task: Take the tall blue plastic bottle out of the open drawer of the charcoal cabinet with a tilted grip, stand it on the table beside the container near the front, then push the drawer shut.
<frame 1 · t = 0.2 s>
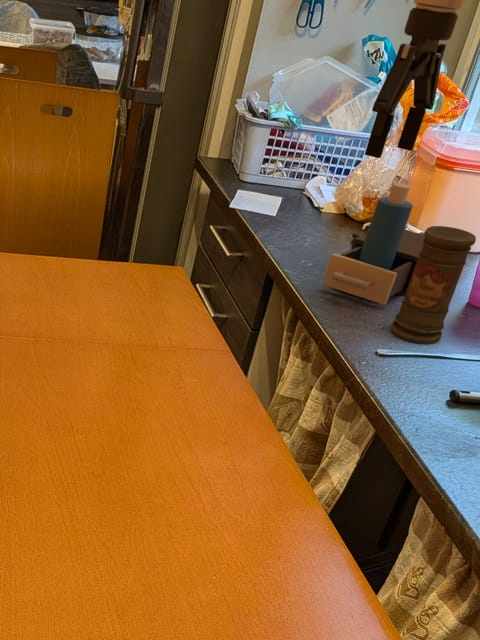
hand: (388, 152, 164), 27 cm above the table, tool pointing down, fingers open, 13 cm apart
bottle: (368, 281, 186), point 2 cm above the table, touching drawer
container: (414, 335, 171), on the table
cabinet: (389, 278, 195), on the table
drawer: (369, 273, 184), point 4 cm above the table, slide at 10.0 cm, touching bottle
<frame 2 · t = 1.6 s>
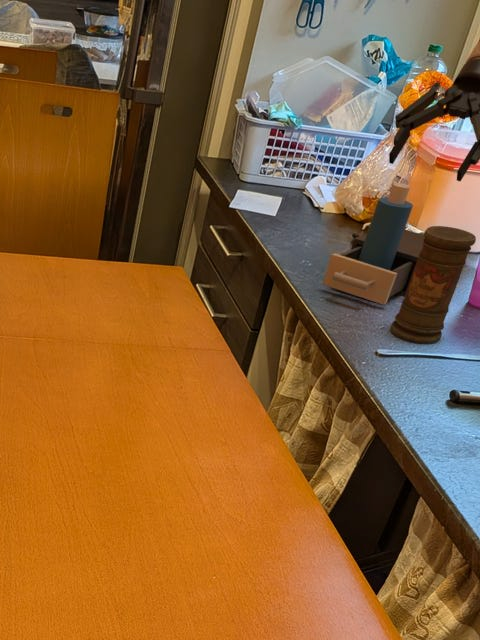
hand: (424, 167, 179), 22 cm above the table, tool tilted 45°, fingers open, 13 cm apart
nothing on the table moved.
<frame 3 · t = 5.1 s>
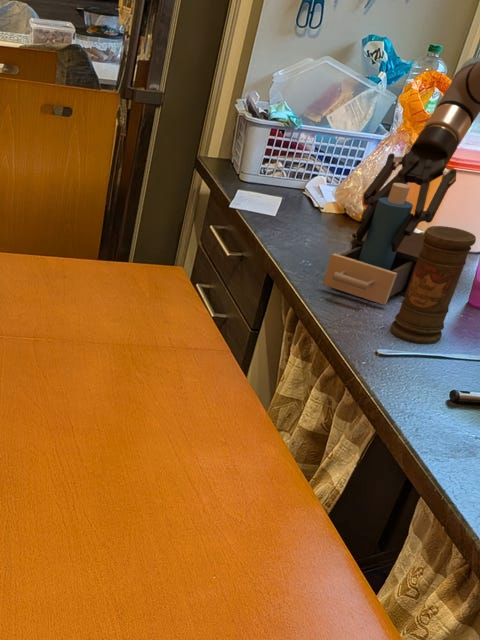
hand: (375, 242, 178), 10 cm above the table, tool tilted 45°, fingers closed on bottle, 6 cm apart
bottle: (368, 281, 186), point 2 cm above the table, touching drawer, gripper
everything else where it was.
when the fingers open (8 cm above the table, at t = 19.4 s): bottle stays where it is, on the table.
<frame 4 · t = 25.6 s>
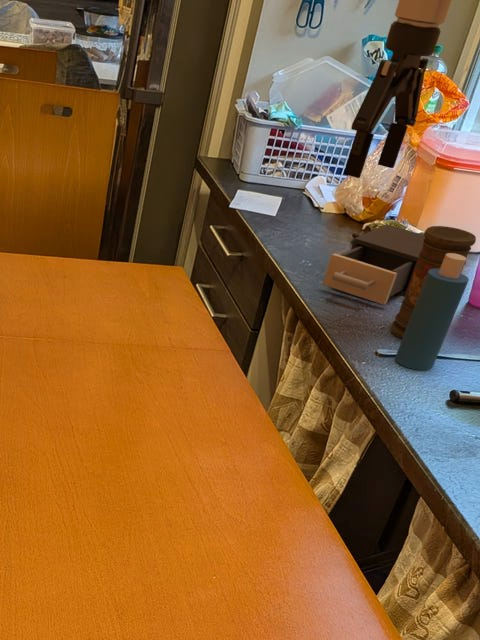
hand: (368, 171, 158), 25 cm above the table, tool pointing down, fingers open, 13 cm apart
bottle: (413, 362, 161), on the table
drawer: (369, 273, 184), point 4 cm above the table, slide at 10.0 cm
everything else where it was.
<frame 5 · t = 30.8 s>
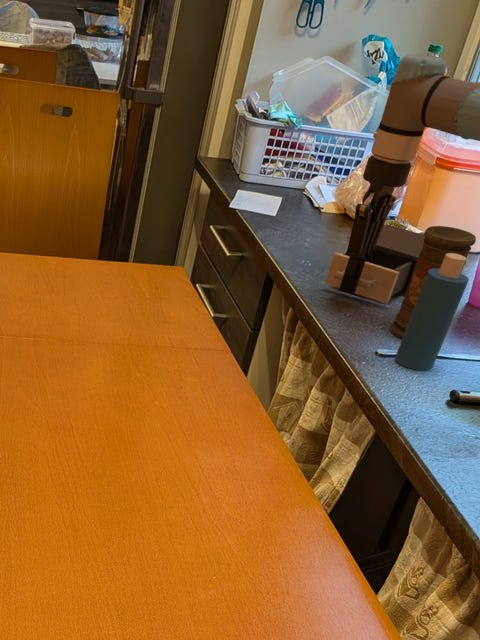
hand: (346, 291, 179), 2 cm above the table, tool pointing down, fingers closed
drawer: (371, 272, 184), point 4 cm above the table, slide at 9.0 cm, touching gripper
everything else where it was.
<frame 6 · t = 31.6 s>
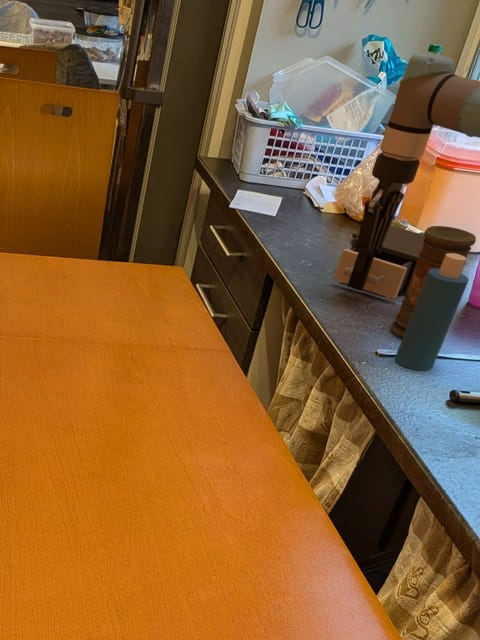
hand: (355, 287, 181), 2 cm above the table, tool pointing down, fingers closed
drawer: (379, 268, 187), point 4 cm above the table, slide at 5.0 cm, touching gripper
everything else where it was.
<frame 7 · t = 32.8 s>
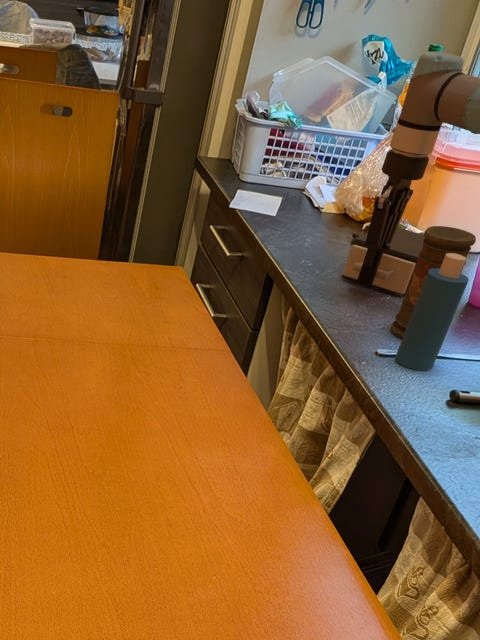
hand: (364, 282, 184), 2 cm above the table, tool pointing down, fingers closed
drawer: (388, 264, 190), point 4 cm above the table, slide at 0.5 cm, touching gripper
everything else where it was.
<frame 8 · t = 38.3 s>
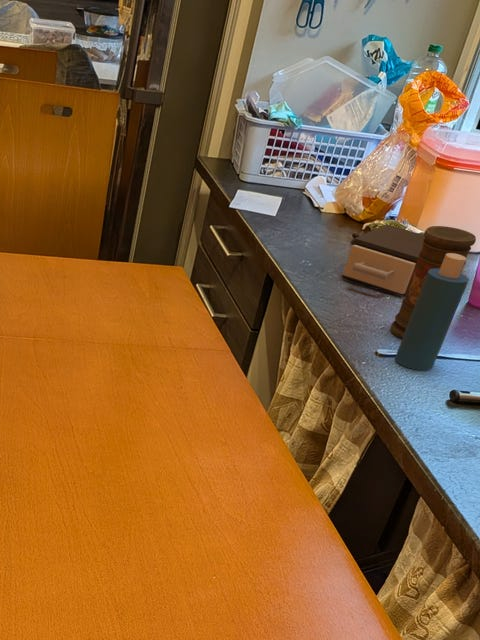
drawer: (388, 264, 190), point 4 cm above the table, slide at 0.5 cm
everything else where it was.
at the end: bottle inside the target area on the table beside the container (0.1 cm from its centre), on the table; bottle tilted 0°; drawer slide at 0.5 cm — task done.
